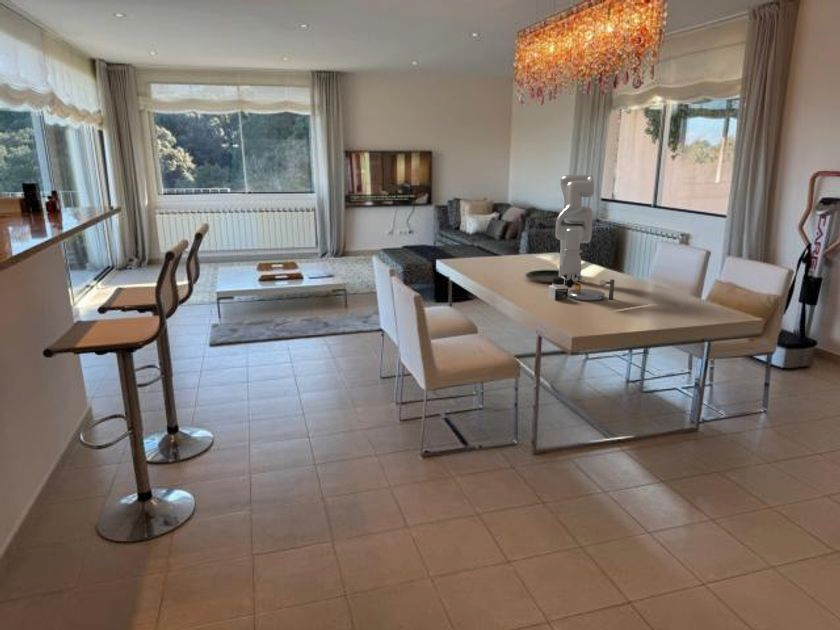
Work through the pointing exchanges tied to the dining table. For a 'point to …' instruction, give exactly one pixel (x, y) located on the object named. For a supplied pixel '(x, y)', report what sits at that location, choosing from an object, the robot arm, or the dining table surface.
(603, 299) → the base
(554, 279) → the medicine bottle
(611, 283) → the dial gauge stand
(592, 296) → the disc
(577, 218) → the robot arm
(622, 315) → the dining table surface
